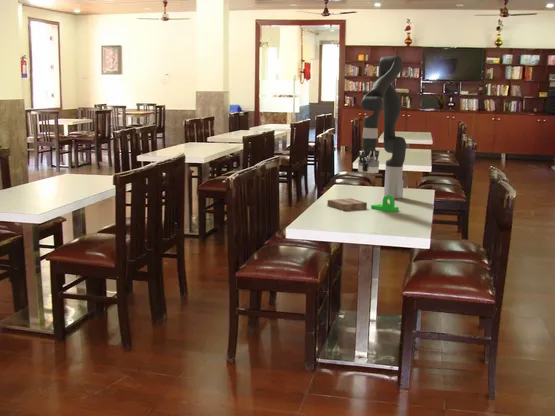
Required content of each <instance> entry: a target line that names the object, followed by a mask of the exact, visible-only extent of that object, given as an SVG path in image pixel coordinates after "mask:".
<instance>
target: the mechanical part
mask: <svg viewBox="0 0 555 416" xmlns="http://www.w3.org/2000/svg"><path fill="white" fill-rule="evenodd" d="M388 200H389V203H388ZM395 200H396V199H394V197H393V196H391V195H388V196H385V197H384V196H383V198H382V203H381V204H379V203H378V204H371V205H370V209H371V210H375V209H376V211H382V212H388V213H395V212H399V209H400V208H399V206H395V202H396V201H395Z"/></svg>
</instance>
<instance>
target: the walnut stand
mask: <svg viewBox="0 0 555 416" xmlns="http://www.w3.org/2000/svg"><path fill="white" fill-rule="evenodd" d="M326 203H327V205H326V206H327V207H330V208H333V209H336V210H340V211H343V212H344V211H354V210H355V211H356V210H367V208H368V204H367V203H368V202H367V201H362V200H358V199H354V198H351V197H350V198H340V199H337V198H336V199H328V200H327V202H326Z"/></svg>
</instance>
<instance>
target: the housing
mask: <svg viewBox="0 0 555 416" xmlns="http://www.w3.org/2000/svg"><path fill="white" fill-rule="evenodd" d="M362 160H363V159H362ZM365 161H366V160H365ZM357 162H358V165H357V172H359V173H364V172H363V170H362V168H363V164H362V163H360V159H358V161H357ZM379 167H380V161H379V160H378V161H376V159H375V160H368V162H367V172H365V173H366V174H367V173H368V174H379V170H380V169H379Z"/></svg>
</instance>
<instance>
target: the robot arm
mask: <svg viewBox="0 0 555 416" xmlns="http://www.w3.org/2000/svg"><path fill="white" fill-rule="evenodd" d="M378 67H379V74H380V77H379V78H378V79H377V80H376V81H375V82H374V83H373V86H372V88H371V89H370V90H369V91H368V92H367V93H366V94H364V96H363V97H362V99H361V100H360V101H361V102H360V107H361V109H362V110H363V111H365V112H366V111H367V112H372V114H370V115H366V116H364V118H363V130H362V136H361V138H362V140H361V141H362V142H361V146H362V147H363V149H362V150H359V151H358V156H359V159H358V160H360V163H362V164H363V168H362V170H363V172H362V173H366V172H367V162H368V160H376V161H379V155H380V150H377V149H376V148H377V147H378V140H379V137H378V136H379V132H378V131H379V129H378V128H379V120H380V115H381V113H382V112H383V148H384V150H385V152H386V153H390V154H392V155H391V158H390V159H387V160H386V162H385V169H384V170H385V172H384V187H383V188H384V190H383V198H384V197H385V196H388V195H391V196H393V197H394V200H396V199H402V198H403V197H404V181H405V180H403V171H404V170H403V169H404V163H405V160H406V150H407V142H406V139H405V138H404V137H402V136H396V124H397V122H398V119H399V117H400V116H401V110H402V108H401V106H402V105H401V98H400V96H399V94H398V92H397V91H396V89H395V87H393V85H392V83H393V82H394V81H395V80H396V78H397V77H398V76H399V74H400V73H401V71H402V69H403V59H402V57H401V56H399V55H387V56H381V57H380V59H379V64H378ZM381 111H382V112H381ZM362 159H363V160H362ZM365 160H366V161H365Z"/></svg>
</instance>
